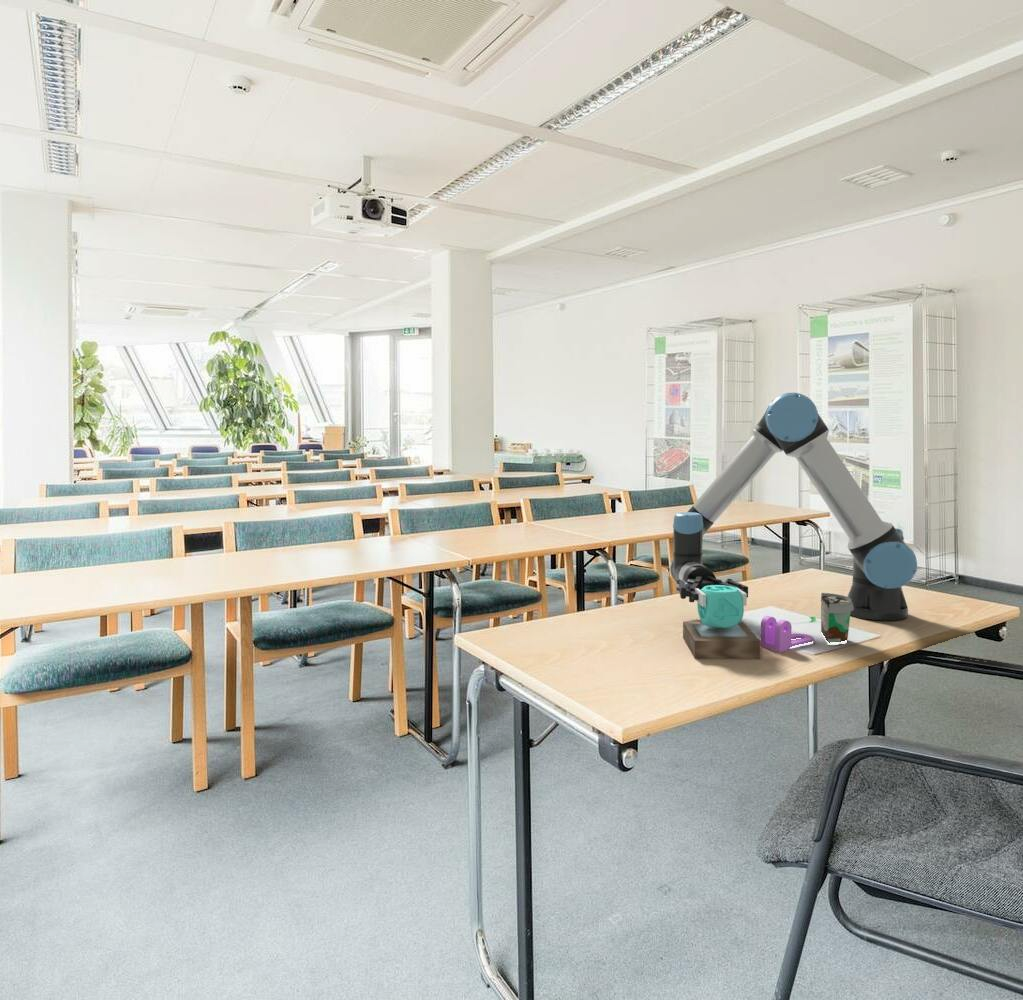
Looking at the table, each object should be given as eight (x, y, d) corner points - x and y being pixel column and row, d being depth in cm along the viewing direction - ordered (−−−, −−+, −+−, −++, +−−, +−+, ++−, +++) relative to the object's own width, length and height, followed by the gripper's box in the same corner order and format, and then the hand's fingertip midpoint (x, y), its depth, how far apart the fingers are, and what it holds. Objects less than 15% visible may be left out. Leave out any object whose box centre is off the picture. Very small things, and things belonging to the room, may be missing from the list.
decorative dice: (743, 627, 168) (744, 591, 168) (708, 628, 168) (709, 593, 167) (730, 618, 176) (730, 584, 176) (696, 619, 176) (697, 585, 175)
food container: (857, 649, 170) (859, 605, 169) (828, 647, 172) (829, 604, 171) (847, 634, 182) (848, 593, 181) (820, 632, 184) (821, 592, 183)
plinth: (742, 638, 180) (742, 620, 180) (760, 658, 164) (760, 639, 164) (682, 637, 181) (683, 620, 181) (694, 658, 165) (694, 639, 165)
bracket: (779, 652, 169) (780, 622, 168) (760, 646, 174) (760, 616, 173) (818, 643, 175) (819, 614, 174) (799, 638, 180) (799, 609, 179)
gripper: (738, 593, 191) (771, 615, 169) (655, 594, 191) (677, 617, 168) (739, 563, 191) (772, 582, 168) (655, 565, 190) (677, 584, 168)
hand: (724, 600), depth 168 cm, fingers closed on decorative dice, 8 cm apart
